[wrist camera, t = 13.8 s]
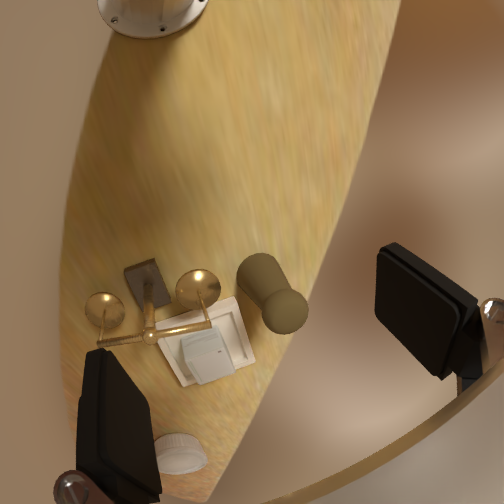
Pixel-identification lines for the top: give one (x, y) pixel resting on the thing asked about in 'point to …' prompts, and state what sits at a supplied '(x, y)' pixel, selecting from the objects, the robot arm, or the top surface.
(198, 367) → the small box
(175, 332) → the balance
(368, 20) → the top surface
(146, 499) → the robot arm
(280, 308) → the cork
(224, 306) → the dish
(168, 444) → the ramekin
